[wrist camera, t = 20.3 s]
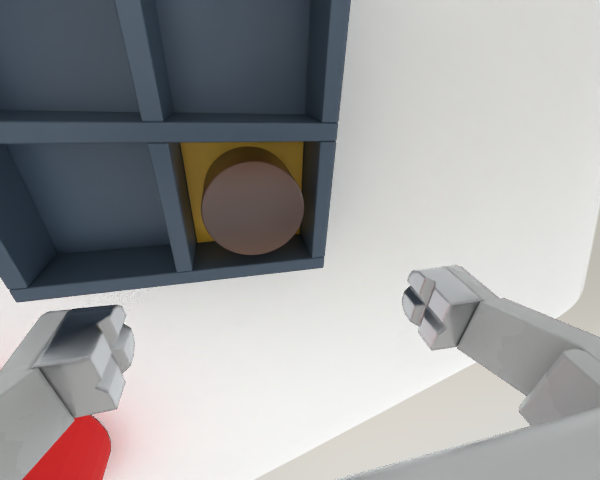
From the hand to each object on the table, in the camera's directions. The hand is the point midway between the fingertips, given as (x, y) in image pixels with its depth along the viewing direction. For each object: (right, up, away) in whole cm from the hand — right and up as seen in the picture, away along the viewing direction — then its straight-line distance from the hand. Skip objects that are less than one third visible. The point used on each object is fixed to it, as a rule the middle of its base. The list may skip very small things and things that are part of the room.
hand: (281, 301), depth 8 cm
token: (-2, +5, +8) cm, 10 cm away
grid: (-6, +8, +6) cm, 12 cm away
